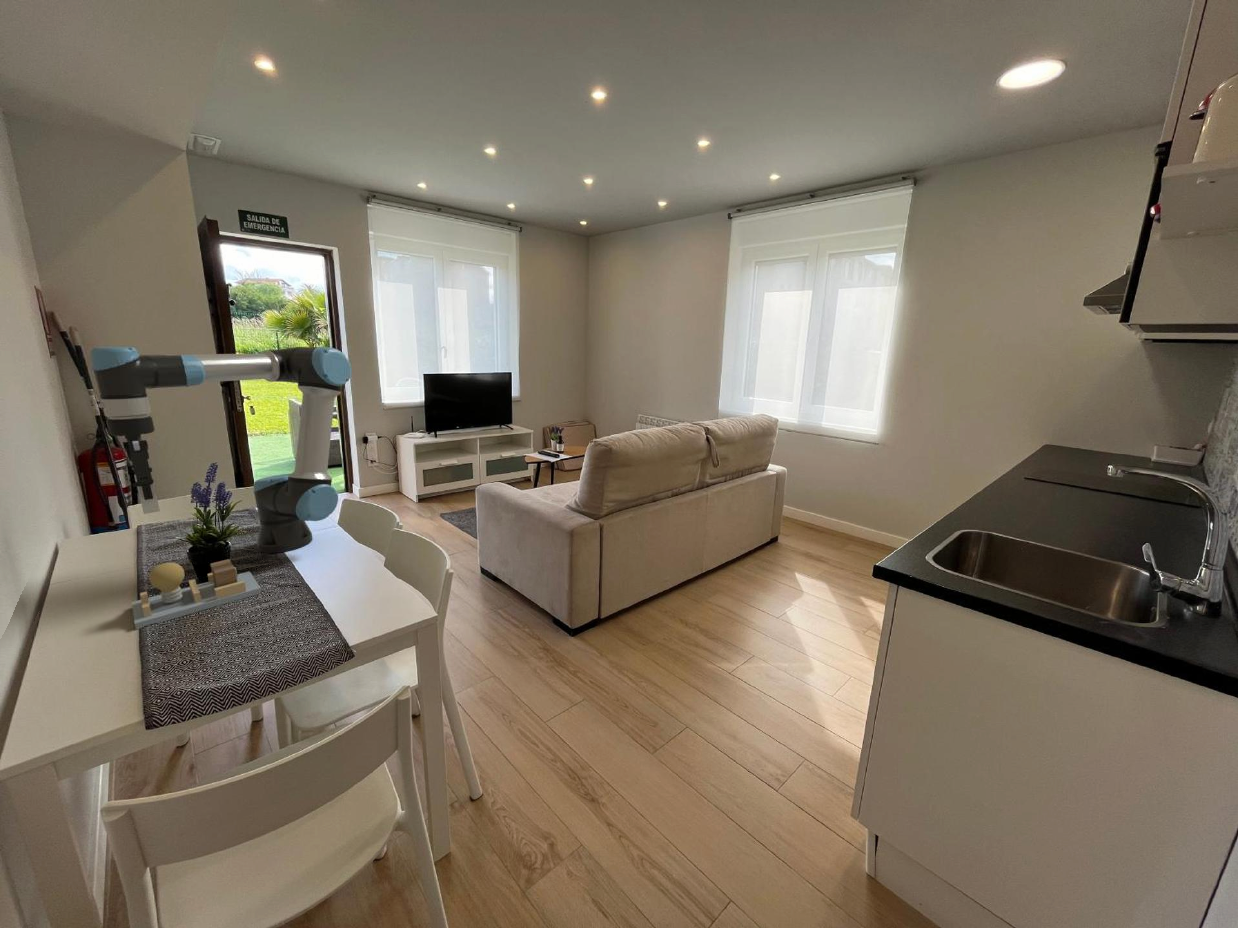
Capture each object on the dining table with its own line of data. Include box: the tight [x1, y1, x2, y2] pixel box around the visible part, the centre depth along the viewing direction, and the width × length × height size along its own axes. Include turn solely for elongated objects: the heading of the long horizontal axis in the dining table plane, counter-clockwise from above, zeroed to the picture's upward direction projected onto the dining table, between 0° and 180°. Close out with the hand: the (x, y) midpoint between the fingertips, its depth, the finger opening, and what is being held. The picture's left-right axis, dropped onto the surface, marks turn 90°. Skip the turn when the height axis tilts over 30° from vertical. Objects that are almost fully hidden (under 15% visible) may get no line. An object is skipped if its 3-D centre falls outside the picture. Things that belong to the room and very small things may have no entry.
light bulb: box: [148, 562, 185, 603], centre depth 121 cm, size 6×6×10 cm
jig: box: [131, 566, 262, 630], centre depth 126 cm, size 14×24×4 cm, turn 136°
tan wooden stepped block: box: [210, 558, 237, 588], centre depth 129 cm, size 8×4×6 cm, turn 46°
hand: (149, 505), depth 116 cm, fingers open, 13 cm apart
